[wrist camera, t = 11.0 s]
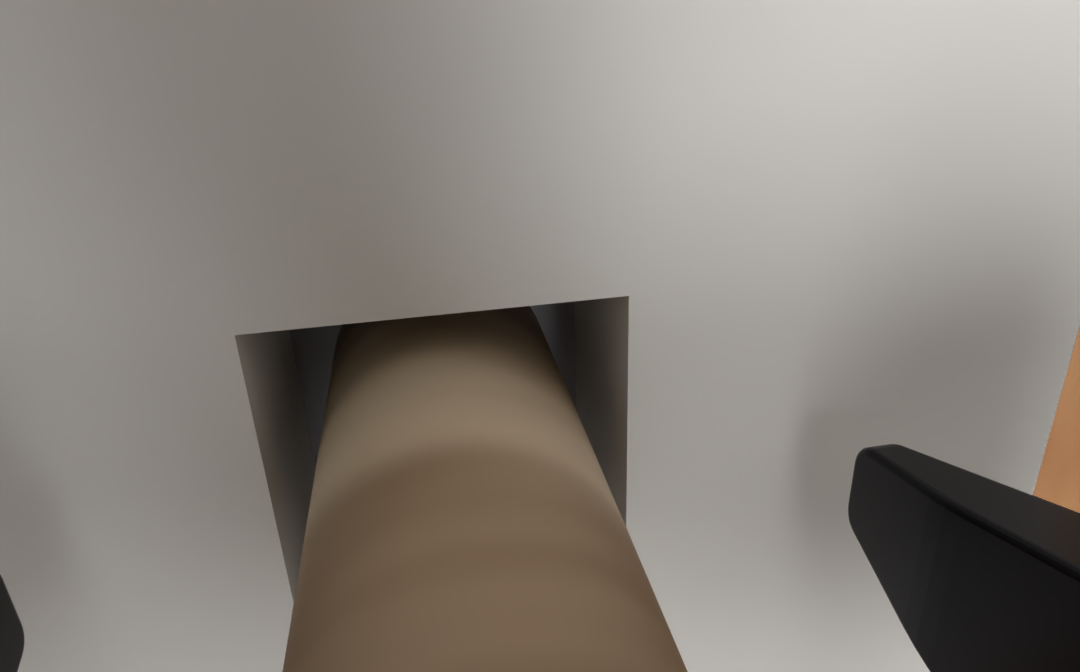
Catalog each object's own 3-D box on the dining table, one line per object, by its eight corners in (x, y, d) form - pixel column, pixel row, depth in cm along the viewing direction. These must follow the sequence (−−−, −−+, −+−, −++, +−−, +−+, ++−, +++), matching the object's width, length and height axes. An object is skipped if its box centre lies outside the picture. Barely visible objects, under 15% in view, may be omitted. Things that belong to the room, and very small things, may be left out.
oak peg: (549, 439, 13) (916, 1523, 4) (349, 464, 12) (230, 1756, 3) (541, 254, 11) (1081, 1247, 2) (318, 274, 11) (-24, 1576, 2)
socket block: (832, 628, 17) (948, 798, 14) (59, 758, 15) (-45, 1000, 11) (975, -256, 11) (1275, -381, 7) (-379, -260, 8) (-964, -444, 5)
